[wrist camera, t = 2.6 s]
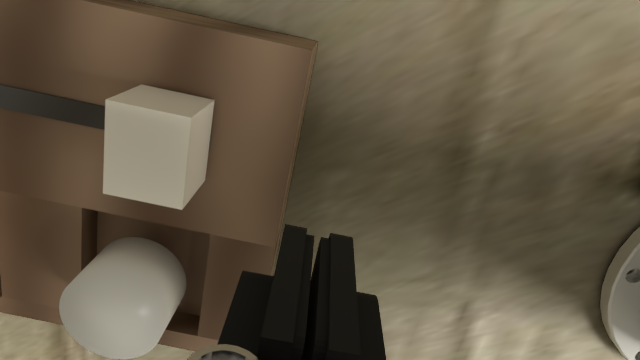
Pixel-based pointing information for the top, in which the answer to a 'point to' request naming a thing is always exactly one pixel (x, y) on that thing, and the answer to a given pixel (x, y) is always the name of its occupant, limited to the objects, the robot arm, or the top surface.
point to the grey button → (123, 298)
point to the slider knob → (156, 145)
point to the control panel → (88, 149)
